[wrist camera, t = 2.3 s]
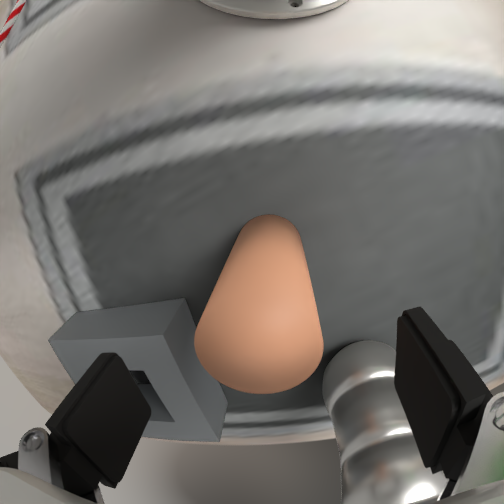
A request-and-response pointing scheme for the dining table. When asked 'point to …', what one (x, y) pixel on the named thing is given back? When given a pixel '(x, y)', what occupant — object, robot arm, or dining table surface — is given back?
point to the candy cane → (11, 20)
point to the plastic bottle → (374, 430)
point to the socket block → (151, 364)
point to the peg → (262, 313)
